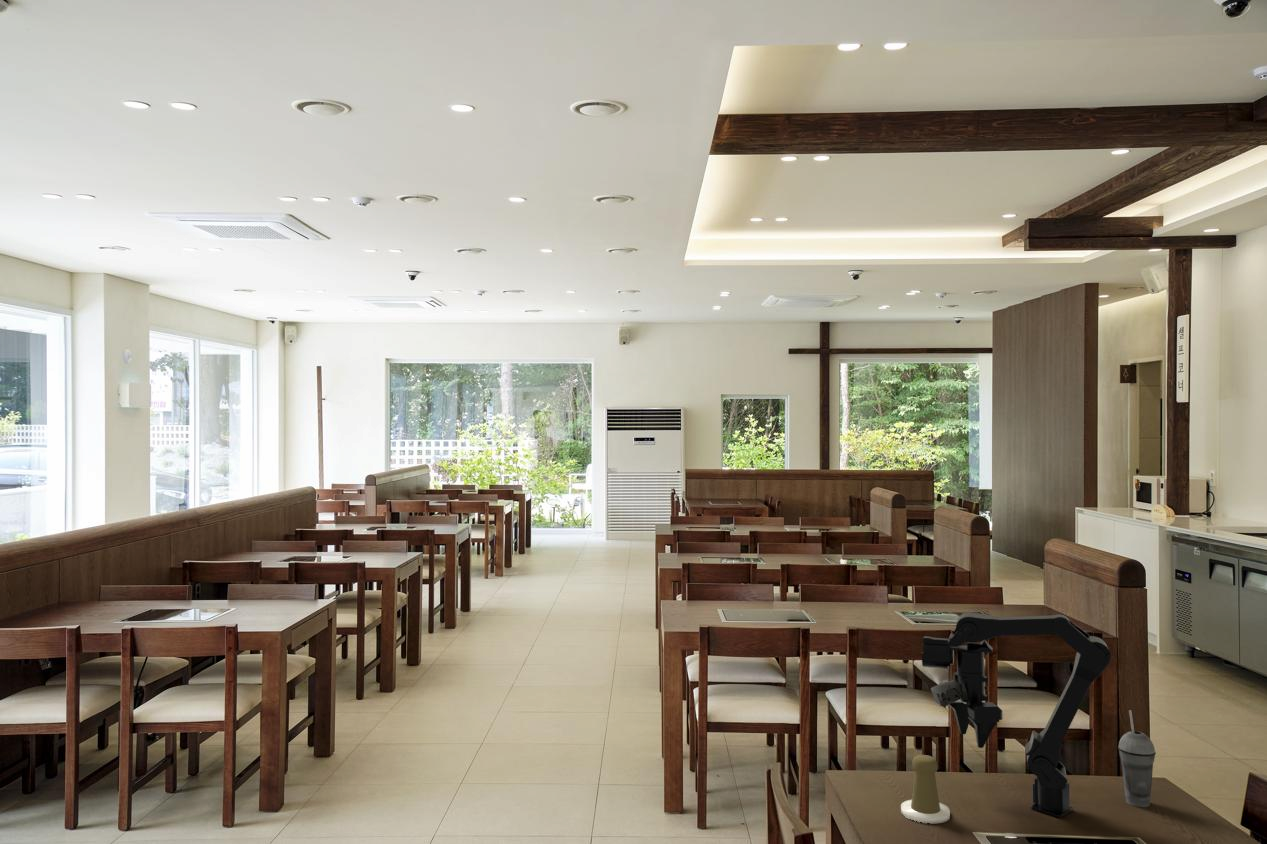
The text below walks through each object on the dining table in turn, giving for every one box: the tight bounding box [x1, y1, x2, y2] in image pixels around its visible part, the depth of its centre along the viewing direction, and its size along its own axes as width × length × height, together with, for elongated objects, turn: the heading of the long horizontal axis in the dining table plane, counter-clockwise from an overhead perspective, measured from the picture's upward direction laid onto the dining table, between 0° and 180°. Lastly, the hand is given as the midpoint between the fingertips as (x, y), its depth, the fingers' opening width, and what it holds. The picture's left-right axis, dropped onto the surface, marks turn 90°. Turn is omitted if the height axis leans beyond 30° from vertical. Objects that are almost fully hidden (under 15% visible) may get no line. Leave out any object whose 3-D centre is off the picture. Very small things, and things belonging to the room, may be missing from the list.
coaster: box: [900, 799, 951, 825], centre depth 195 cm, size 10×10×1 cm
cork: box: [911, 754, 940, 814], centre depth 196 cm, size 6×6×11 cm
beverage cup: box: [1117, 709, 1157, 808], centre depth 200 cm, size 7×7×20 cm
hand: (971, 740), depth 203 cm, fingers open, 9 cm apart
